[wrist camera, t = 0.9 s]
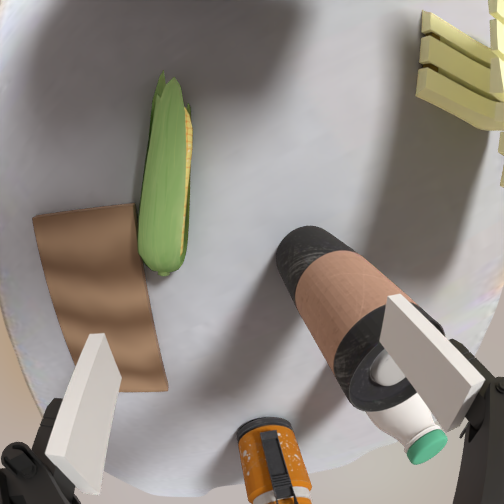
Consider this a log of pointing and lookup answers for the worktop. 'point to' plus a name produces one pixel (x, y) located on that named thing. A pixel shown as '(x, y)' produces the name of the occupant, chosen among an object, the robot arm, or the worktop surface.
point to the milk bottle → (412, 428)
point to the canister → (273, 463)
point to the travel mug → (345, 315)
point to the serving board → (102, 288)
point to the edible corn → (166, 181)
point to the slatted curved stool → (464, 72)
